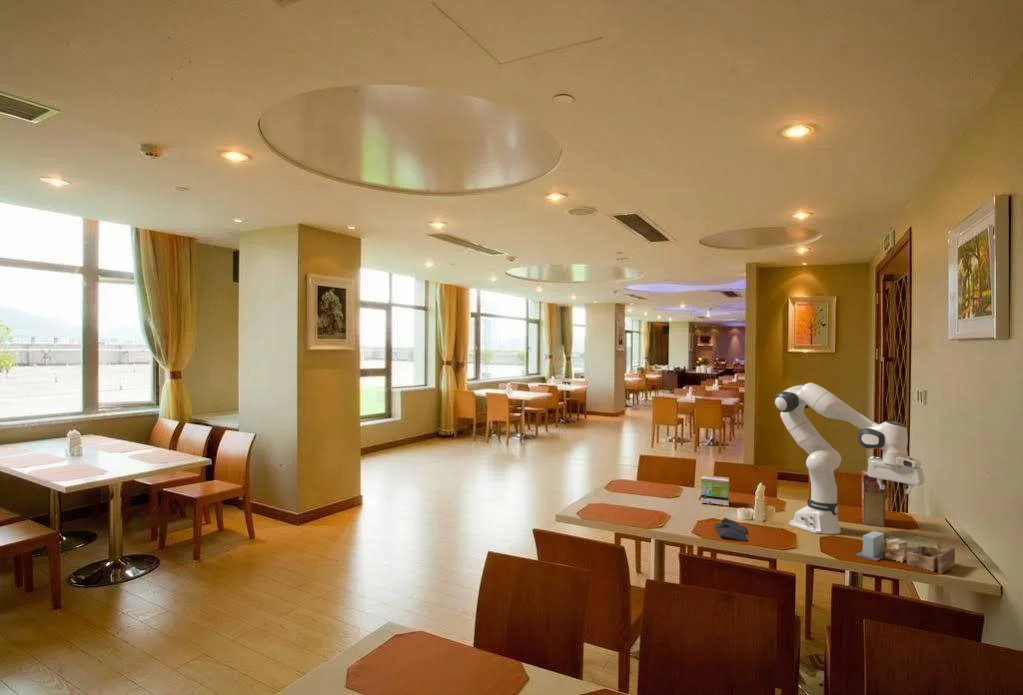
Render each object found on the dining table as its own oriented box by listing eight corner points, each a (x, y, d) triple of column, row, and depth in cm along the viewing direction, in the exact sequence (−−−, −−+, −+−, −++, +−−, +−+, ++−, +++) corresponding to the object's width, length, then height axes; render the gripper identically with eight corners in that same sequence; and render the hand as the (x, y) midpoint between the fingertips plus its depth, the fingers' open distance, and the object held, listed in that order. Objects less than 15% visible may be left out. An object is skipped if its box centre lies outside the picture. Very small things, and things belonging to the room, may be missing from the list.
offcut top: (888, 546, 232) (888, 540, 232) (897, 544, 235) (897, 538, 235) (898, 549, 228) (898, 543, 228) (907, 547, 231) (907, 541, 231)
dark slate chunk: (714, 539, 254) (714, 529, 254) (713, 525, 274) (713, 515, 274) (749, 543, 248) (749, 533, 248) (747, 528, 269) (747, 519, 269)
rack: (906, 564, 223) (906, 547, 223) (921, 556, 233) (921, 539, 233) (941, 574, 214) (941, 556, 214) (954, 564, 223) (954, 547, 223)
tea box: (700, 504, 310) (700, 478, 310) (701, 499, 320) (701, 474, 320) (728, 507, 305) (729, 480, 305) (729, 502, 314) (729, 476, 314)
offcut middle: (889, 554, 230) (889, 548, 230) (892, 549, 236) (892, 543, 236) (904, 557, 227) (904, 551, 227) (906, 551, 233) (906, 545, 233)
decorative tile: (935, 546, 246) (935, 538, 246) (940, 560, 230) (940, 551, 230) (885, 537, 257) (885, 530, 257) (886, 550, 240) (886, 542, 240)
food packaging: (861, 517, 287) (861, 469, 287) (882, 520, 282) (882, 471, 283) (863, 524, 275) (863, 474, 275) (885, 527, 271) (885, 476, 271)
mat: (855, 555, 233) (855, 554, 233) (870, 548, 242) (870, 546, 242) (876, 561, 226) (876, 560, 226) (891, 553, 235) (891, 552, 235)
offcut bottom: (885, 559, 230) (885, 553, 230) (892, 554, 237) (892, 548, 237) (902, 564, 226) (902, 558, 226) (909, 558, 232) (909, 552, 232)
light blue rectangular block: (862, 554, 233) (862, 535, 233) (873, 549, 239) (873, 530, 239) (873, 557, 229) (873, 538, 229) (884, 551, 236) (884, 533, 236)
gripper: (864, 456, 241) (864, 487, 241) (919, 464, 225) (919, 498, 224) (871, 454, 245) (871, 485, 245) (925, 462, 228) (925, 495, 228)
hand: (894, 491), depth 235 cm, fingers open, 8 cm apart
